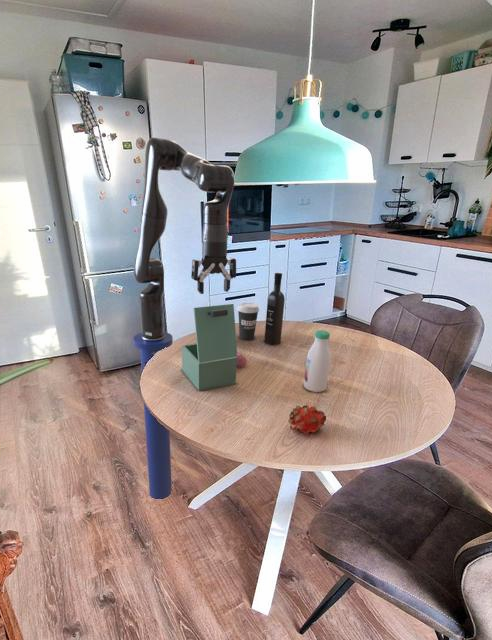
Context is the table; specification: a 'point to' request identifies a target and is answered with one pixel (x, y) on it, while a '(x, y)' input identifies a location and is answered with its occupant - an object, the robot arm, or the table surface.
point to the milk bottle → (318, 363)
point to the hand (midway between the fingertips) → (213, 292)
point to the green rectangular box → (207, 369)
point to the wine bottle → (274, 313)
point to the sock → (241, 360)
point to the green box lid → (215, 332)
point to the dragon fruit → (306, 419)
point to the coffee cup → (247, 320)
